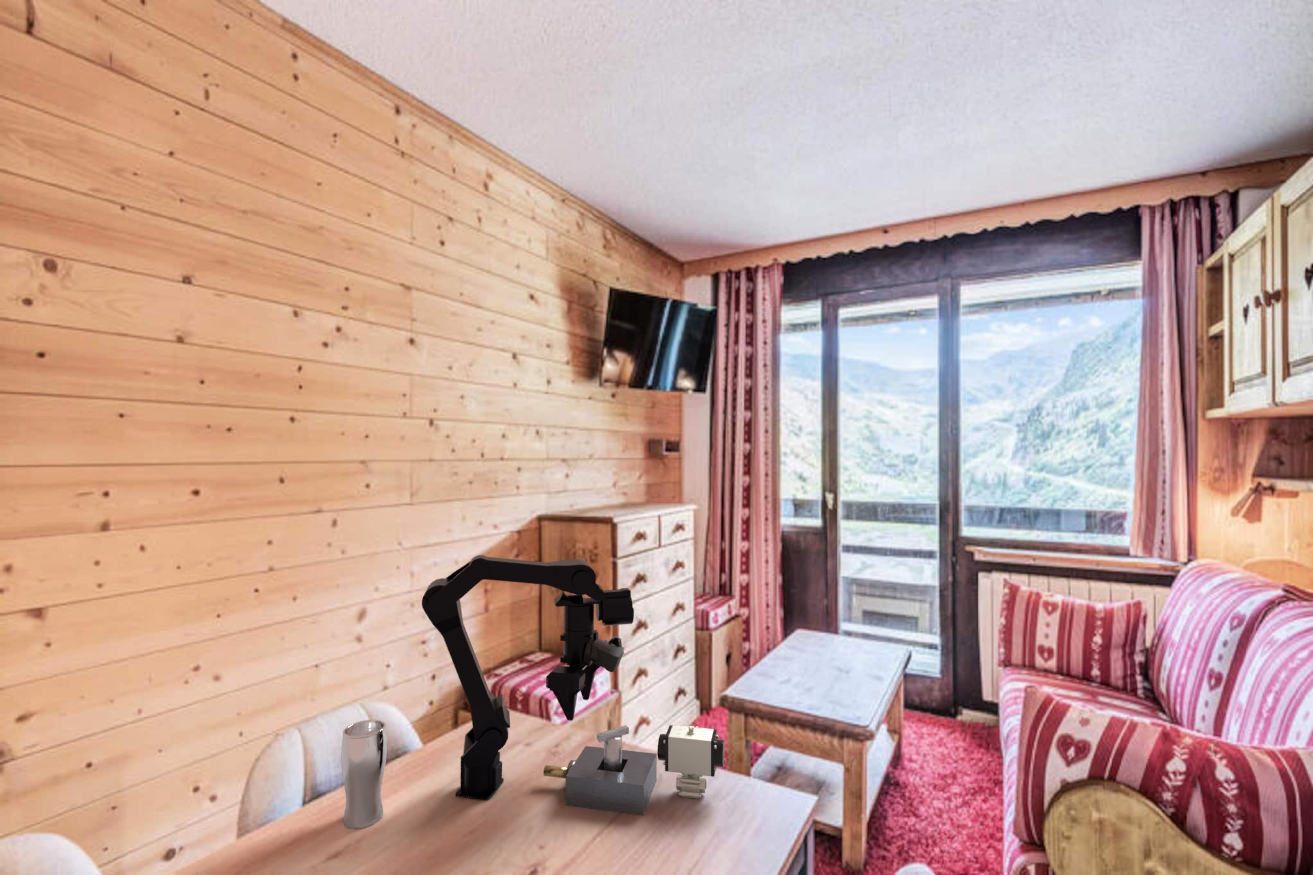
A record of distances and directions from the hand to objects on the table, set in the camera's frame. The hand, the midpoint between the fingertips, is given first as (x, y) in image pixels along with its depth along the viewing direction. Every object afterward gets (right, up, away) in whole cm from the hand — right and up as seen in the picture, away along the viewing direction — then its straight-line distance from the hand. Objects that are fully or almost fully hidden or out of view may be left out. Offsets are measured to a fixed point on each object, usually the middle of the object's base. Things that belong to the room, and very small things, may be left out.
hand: (578, 709), depth 115 cm
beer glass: (-34, -12, -14) cm, 39 cm away
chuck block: (+4, -12, -5) cm, 14 cm away
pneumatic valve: (+21, -13, -6) cm, 25 cm away
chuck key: (+7, -10, -6) cm, 14 cm away
